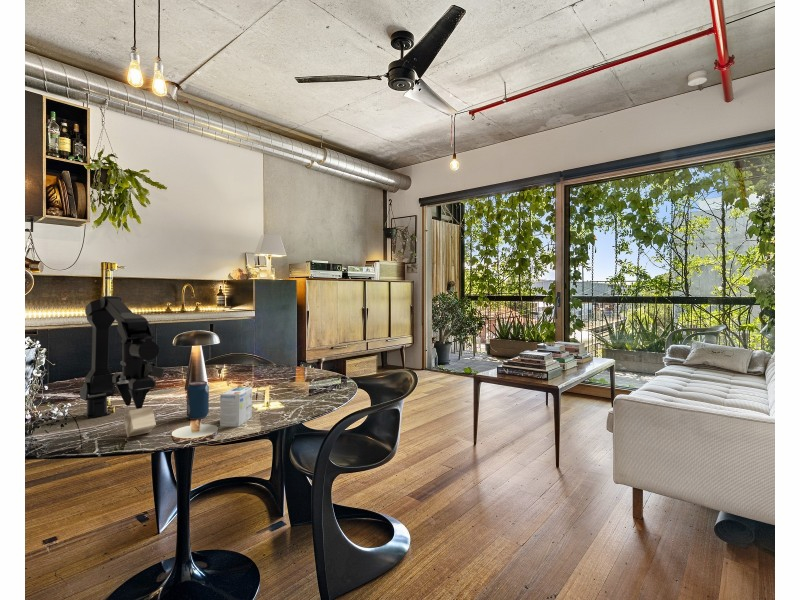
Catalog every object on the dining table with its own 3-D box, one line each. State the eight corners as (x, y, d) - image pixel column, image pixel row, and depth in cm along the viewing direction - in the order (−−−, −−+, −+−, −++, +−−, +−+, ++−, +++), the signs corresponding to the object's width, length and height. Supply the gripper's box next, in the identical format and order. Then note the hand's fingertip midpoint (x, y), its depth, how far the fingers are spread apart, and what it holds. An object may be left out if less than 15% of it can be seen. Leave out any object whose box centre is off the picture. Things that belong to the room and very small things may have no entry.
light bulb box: (233, 416, 143) (233, 386, 143) (252, 417, 143) (252, 386, 143) (219, 426, 132) (219, 393, 132) (239, 427, 132) (239, 394, 132)
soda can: (212, 414, 145) (213, 381, 145) (200, 420, 138) (200, 385, 138) (195, 413, 146) (195, 380, 146) (181, 419, 139) (182, 384, 139)
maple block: (129, 410, 120) (133, 429, 118) (151, 406, 125) (156, 424, 123) (123, 418, 123) (127, 437, 121) (145, 414, 128) (149, 432, 126)
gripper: (173, 357, 127) (173, 407, 127) (150, 352, 138) (150, 398, 138) (133, 361, 118) (133, 415, 118) (111, 356, 130) (111, 405, 130)
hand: (133, 407), depth 126 cm, fingers open, 9 cm apart
